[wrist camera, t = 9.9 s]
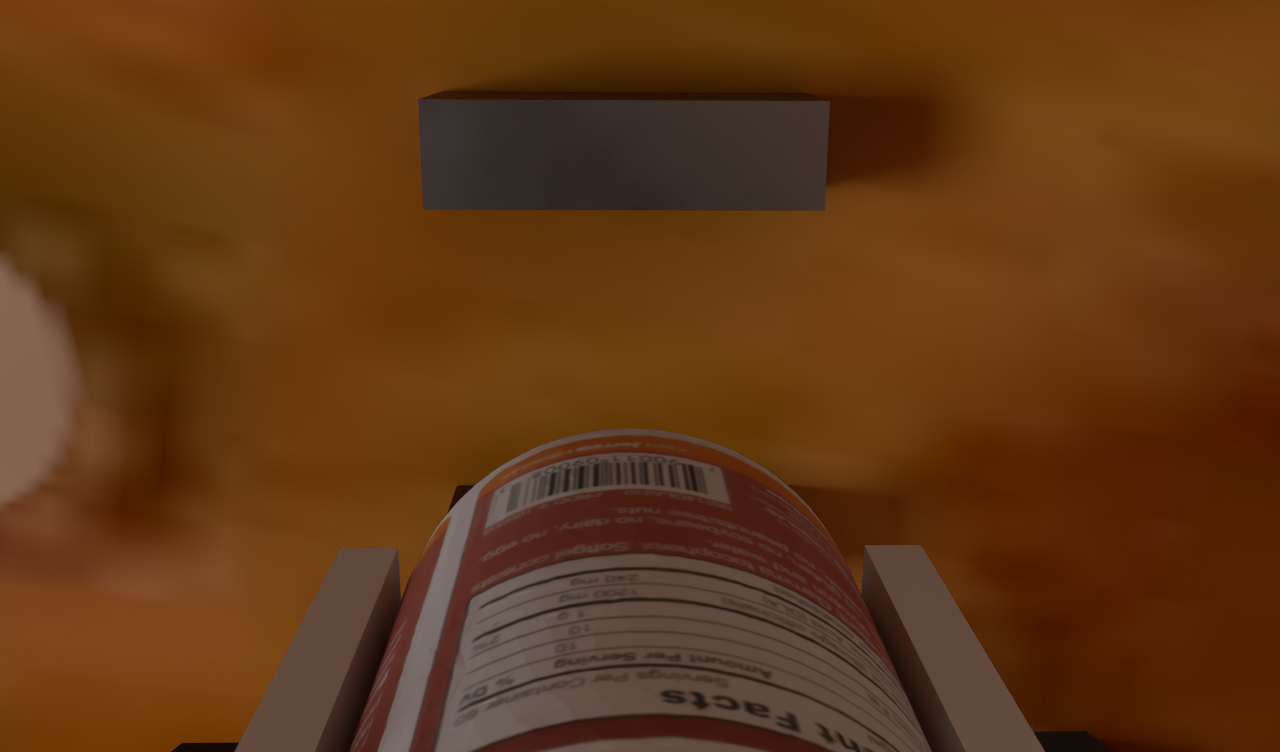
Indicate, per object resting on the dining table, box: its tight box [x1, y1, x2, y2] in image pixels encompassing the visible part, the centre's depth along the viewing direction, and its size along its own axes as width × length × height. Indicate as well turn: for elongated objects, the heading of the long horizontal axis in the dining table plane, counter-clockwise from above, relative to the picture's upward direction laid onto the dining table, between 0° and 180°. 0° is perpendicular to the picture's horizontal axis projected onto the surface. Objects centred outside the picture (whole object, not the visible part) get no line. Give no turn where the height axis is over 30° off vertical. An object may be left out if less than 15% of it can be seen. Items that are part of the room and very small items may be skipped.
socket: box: [418, 92, 830, 514], centre depth 29 cm, size 19×9×6 cm, turn 0°
